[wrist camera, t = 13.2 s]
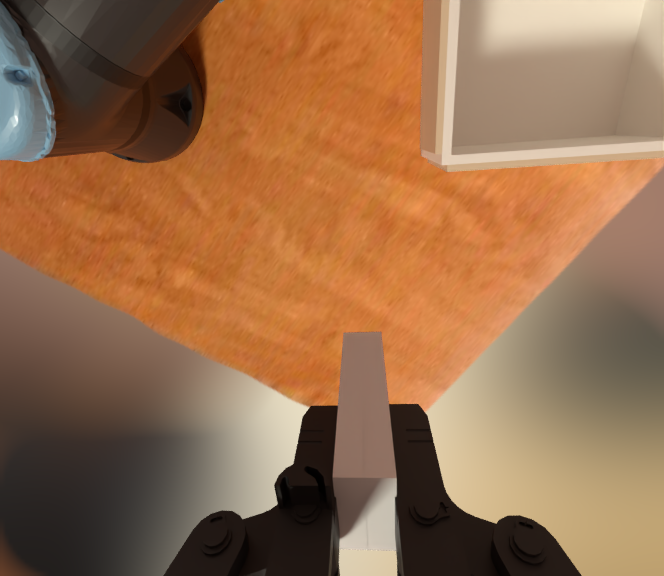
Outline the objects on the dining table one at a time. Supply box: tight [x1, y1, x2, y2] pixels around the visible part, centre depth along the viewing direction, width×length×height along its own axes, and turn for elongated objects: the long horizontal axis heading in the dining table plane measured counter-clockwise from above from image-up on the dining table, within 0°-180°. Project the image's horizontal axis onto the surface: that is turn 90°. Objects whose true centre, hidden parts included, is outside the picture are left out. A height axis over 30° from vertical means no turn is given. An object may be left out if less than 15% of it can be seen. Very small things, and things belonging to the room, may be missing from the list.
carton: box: [420, 0, 664, 172], centre depth 33 cm, size 19×23×12 cm
